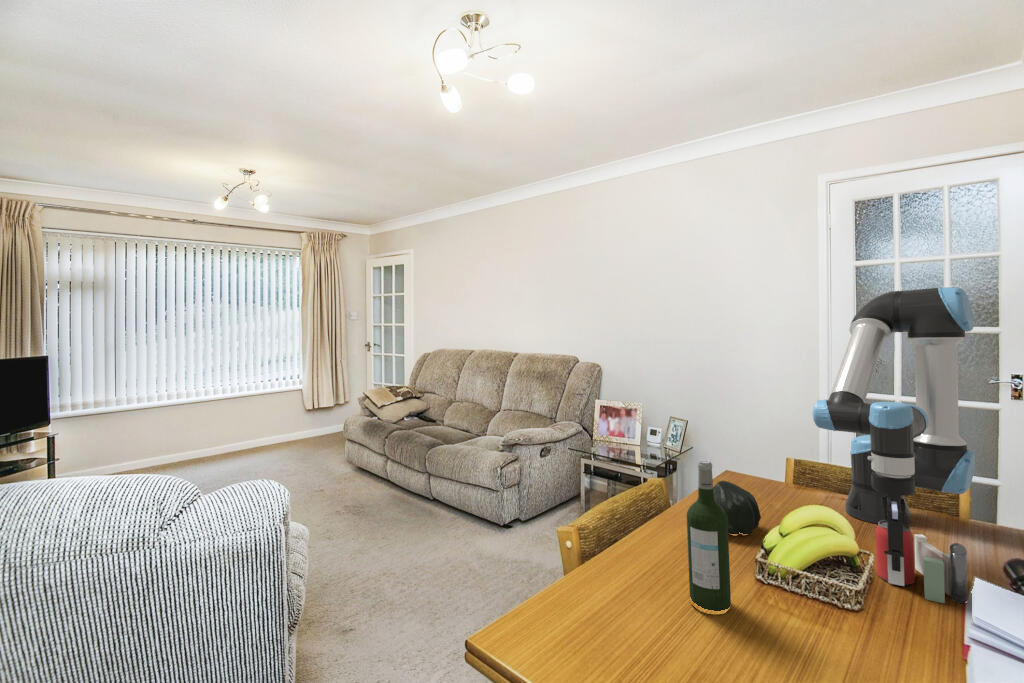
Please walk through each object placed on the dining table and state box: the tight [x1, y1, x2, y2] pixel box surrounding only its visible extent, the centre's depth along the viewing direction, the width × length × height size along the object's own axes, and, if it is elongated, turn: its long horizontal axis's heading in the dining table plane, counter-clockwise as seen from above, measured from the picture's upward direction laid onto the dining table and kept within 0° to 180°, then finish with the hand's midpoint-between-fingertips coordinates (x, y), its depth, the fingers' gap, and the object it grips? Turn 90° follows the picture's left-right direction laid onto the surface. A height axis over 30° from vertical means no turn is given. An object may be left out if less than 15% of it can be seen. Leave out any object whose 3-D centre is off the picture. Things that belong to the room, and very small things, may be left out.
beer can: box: [875, 520, 915, 586], centre depth 107 cm, size 7×7×12 cm
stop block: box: [923, 557, 946, 604], centre depth 99 cm, size 2×3×8 cm, turn 54°
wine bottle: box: [686, 459, 732, 611], centre depth 100 cm, size 8×8×30 cm
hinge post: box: [949, 542, 968, 605], centre depth 98 cm, size 3×3×12 cm
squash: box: [713, 480, 762, 535], centre depth 135 cm, size 14×15×15 cm
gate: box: [913, 533, 951, 596], centre depth 105 cm, size 11×2×8 cm, turn 169°
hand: (895, 576), depth 107 cm, fingers closed on beer can, 7 cm apart
